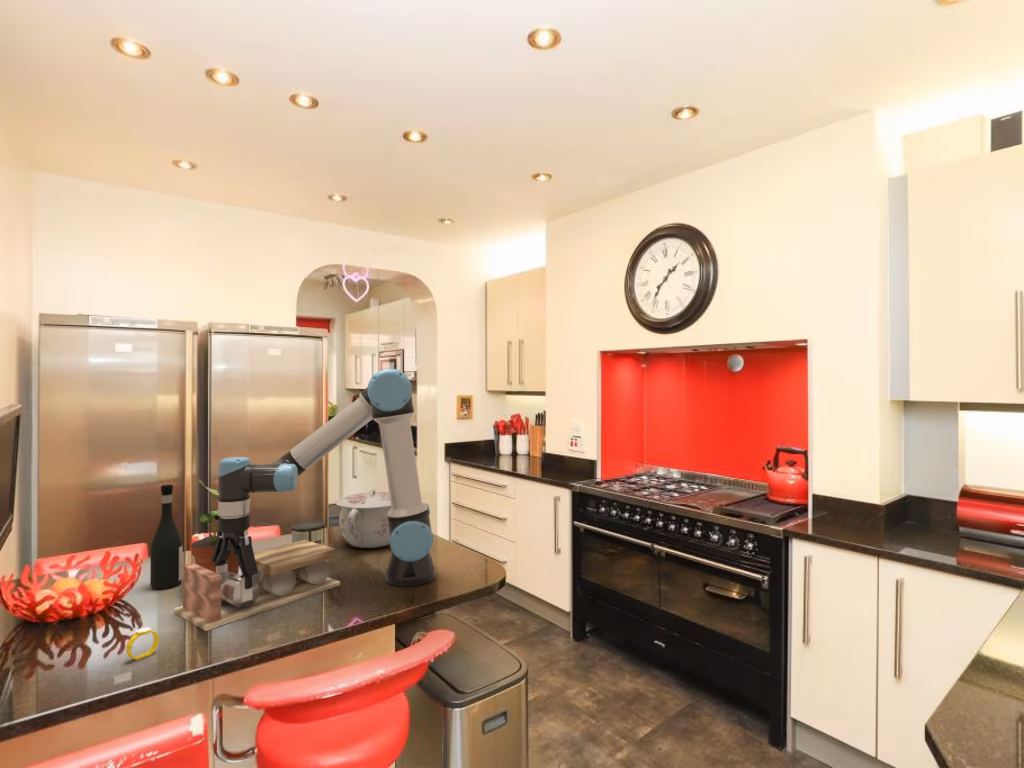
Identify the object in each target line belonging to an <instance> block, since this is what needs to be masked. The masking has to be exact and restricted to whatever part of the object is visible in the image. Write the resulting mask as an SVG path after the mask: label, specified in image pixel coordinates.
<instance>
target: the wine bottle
mask: <svg viewBox="0 0 1024 768" xmlns="http://www.w3.org/2000/svg"><path fill="white" fill-rule="evenodd" d="M160 491H161V515H160V520H159V524H158V527H157V529H156V531H155V533H154V535H153V538H152V542H151V545H150V568H149V569H150V575H149V576H150V578H149V580H150V583H149V585H150V587H151V588H153V589H154V590H155V589H156V590H167V589H171V588H174V587H176V586H178V585H180V584H181V583H182V582H183V541H182V536H181V533H180V532H179V530H178V528H177V526H176V523H175V520H174V516H173V491H174V485H173V484H163V485H160Z"/></svg>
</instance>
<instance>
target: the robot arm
mask: <svg viewBox="0 0 1024 768" xmlns="http://www.w3.org/2000/svg"><path fill="white" fill-rule="evenodd" d="M412 390H413V389H412V383H411V381H410V379H409V377H408V376H407V375H406V374H405V373H404V372H403V371H401V370H400V369H397V368H385V369H380V370H378V371H377V372H375V373H374V374H373V375H372V376H371V378H370V380H369V381H368V384H367V387H365V389H364V390H362V391H360V392H359V396H358V398H357V399H356V400H354V401H353V402H352V403H350V404H349V405H347V406H346V407H345V408H344V409H342V411H340V412H338V414H336V415H335V416H334V417H332V418H330V420H328V421H327V422H326V423H324V424H323V425H322V426H321V427H319V428H318V429H317V430H315V431H314V432H313V433H311V434H310V435H309V436H307V437H306V438H304V440H302V441H300V443H298V444H297V445H295V446H293V448H292V449H290V450H289V451H288V452H286V453H285V454H284V455H282V456H281V457H279V458H278V459H276V460H275V461H273V462H272V463H269V464H268V463H267V464H252V463H251V461H250V458H249V457H245V456H237V457H236V456H234V457H226V458H222V459H221V460H220V461H219V464H218V475H217V479H218V485H217V486H218V493H219V496H218V497H219V499H218V500H217V510H218V515H219V516H221V517H220V518H219V519H218V520H217V524H218V526H217V527H218V530H219V531H218V533H217V532H216V536H217V541H216V545H215V549H214V552H213V556H212V562H215V565H216V573H217V574H221V573H223V572H228V564H225V563H228V560H227V559H228V557H229V555H230V553H231V551H232V552H233V554H234V555H236V558H237V560H238V563H239V570H240V571H241V575H240V576H241V577H240V578H241V602H245V601H249V600H252V585H253V575H254V574H257V573H258V570H257V565H256V561H255V557H254V549H253V543H252V536H251V535H249V536H248V535H247V536H246V537H245V535H244V531H245V530H247V529H248V530H249V528H250V525H251V524H250V521H251V519H250V517H251V516H250V515H249V513H250V504H251V502H252V500H251V501H249V498H251V497H250V495H251V493H253V494H255V493H284V492H293V491H294V490H296V488H297V485H298V481H299V480H298V478H299V476H301V475H302V474H303V473H304V472H306V471H307V470H308V469H309V468H311V467H312V466H313V465H314V464H316V463H317V462H319V461H320V460H321V459H323V458H324V457H325V456H326V455H327V454H329V453H330V452H332V451H333V450H334V449H336V447H338V446H339V445H340V444H342V443H343V442H345V441H346V440H347V439H348V438H350V437H352V436H353V434H355V433H357V431H359V430H360V429H361V428H363V427H364V426H366V425H367V424H368V423H369V422H370V421H371V422H372V420H373V421H375V423H377V424H378V425H379V432H380V438H381V439H380V440H381V444H382V452H383V458H384V466H385V473H386V481H387V484H388V491H389V492H388V493H389V494H390V500H391V509H390V511H389V512H388V513H387V518H388V525H389V532H390V544H389V547H390V549H391V550H390V551H391V556H390V558H389V562H388V567H387V568H386V571H385V581H386V583H388V584H390V585H392V586H397V587H414V586H420V585H425V584H427V583H430V582H432V581H433V580H435V578H436V568H435V565H434V563H433V558H432V556H431V553H430V552H431V550H432V547H433V543H434V534H433V532H432V526H431V519H430V514H431V510H430V505H429V504H428V503H425V502H423V500H422V494H421V488H420V482H419V480H420V479H419V474H418V467H417V459H416V454H415V453H416V452H415V446H414V439H413V433H412V426H411V418H412V417H413V416H414V414H415V409H414V402H413V401H414V400H413V396H412V395H413V394H412ZM217 556H218V557H217Z"/></svg>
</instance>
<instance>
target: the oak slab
mask: <svg viewBox="0 0 1024 768" xmlns="http://www.w3.org/2000/svg"><path fill="white" fill-rule="evenodd" d="M253 552H254V551H253ZM254 557H255V561H256V565H257V570H258V571H260V572H263V573H265V574H268V575H270V576H272V575H276V574H279V573H282V572H286V571H289V570H293V569H296V568H300V567H303V566H307V565H310V564H314V563H317V562H321V561H324V560H325V561H327V560H331V559H335V558H336V548H333V547H330V546H327V545H325V544H324V545H320V544H317V543H313V542H310V541H307V540H303V541H299V542H295V543H292V542H291V543H288V544H283V545H278V546H275V547H271V548H267V549H263V550H258V551H255V552H254Z"/></svg>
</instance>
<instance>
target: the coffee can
mask: <svg viewBox="0 0 1024 768" xmlns="http://www.w3.org/2000/svg"><path fill="white" fill-rule="evenodd" d="M325 526H326V523H325V522H324V521H322V520H308V521H307V520H306V521H301V522H297V523H294V524H292V525H291V543H295V542H299V541H303V540H307V541H310V542H313V543H317V544H320V545H324V546H325Z"/></svg>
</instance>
